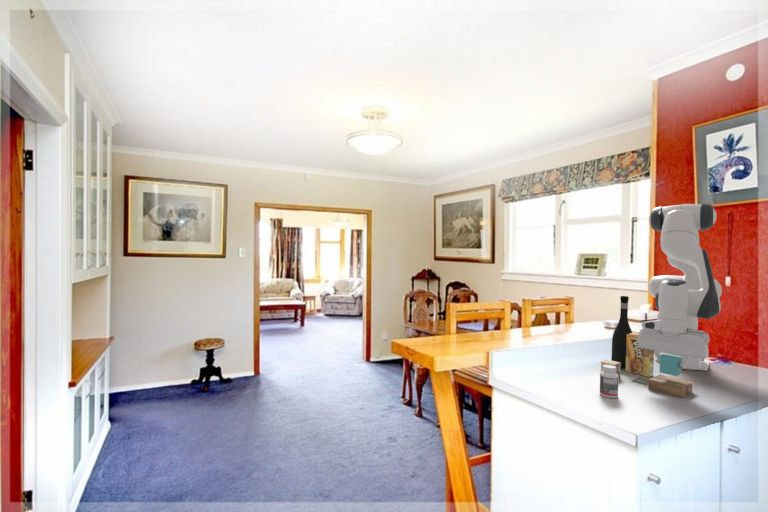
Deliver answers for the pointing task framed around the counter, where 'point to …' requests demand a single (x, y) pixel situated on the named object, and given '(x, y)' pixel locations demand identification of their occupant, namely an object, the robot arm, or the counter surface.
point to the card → (641, 380)
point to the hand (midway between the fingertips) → (670, 365)
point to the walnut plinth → (670, 386)
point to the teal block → (670, 364)
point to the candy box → (638, 357)
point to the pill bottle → (609, 382)
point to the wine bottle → (621, 334)
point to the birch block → (613, 363)
